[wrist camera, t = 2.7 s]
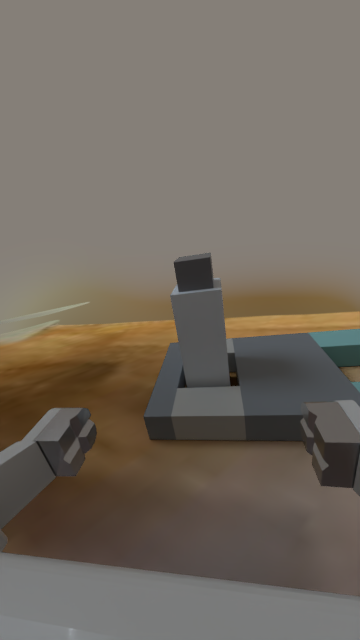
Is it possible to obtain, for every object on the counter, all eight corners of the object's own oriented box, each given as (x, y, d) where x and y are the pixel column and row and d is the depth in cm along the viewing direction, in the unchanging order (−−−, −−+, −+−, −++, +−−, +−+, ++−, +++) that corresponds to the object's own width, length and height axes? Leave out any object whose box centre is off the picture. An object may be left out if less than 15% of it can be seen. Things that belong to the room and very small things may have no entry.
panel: (149, 439, 19) (143, 416, 18) (173, 359, 30) (170, 343, 29) (512, 442, 14) (529, 412, 13) (382, 347, 25) (386, 326, 24)
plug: (189, 403, 22) (164, 264, 17) (193, 377, 25) (173, 257, 20) (231, 402, 21) (218, 257, 16) (229, 376, 25) (217, 250, 20)
